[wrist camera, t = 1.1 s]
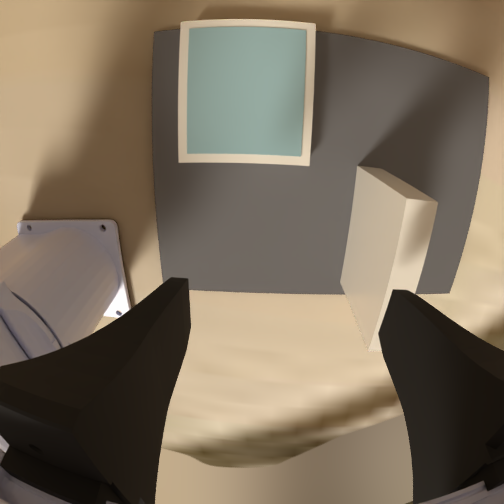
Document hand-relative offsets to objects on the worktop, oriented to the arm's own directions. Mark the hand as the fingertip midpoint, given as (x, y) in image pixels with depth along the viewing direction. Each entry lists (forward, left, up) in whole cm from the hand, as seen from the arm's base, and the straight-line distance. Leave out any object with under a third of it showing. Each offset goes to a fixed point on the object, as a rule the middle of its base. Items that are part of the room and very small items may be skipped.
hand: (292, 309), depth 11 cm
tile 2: (+5, -1, -10) cm, 11 cm away
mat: (+3, +3, -10) cm, 11 cm away
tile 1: (-2, +7, -10) cm, 12 cm away
